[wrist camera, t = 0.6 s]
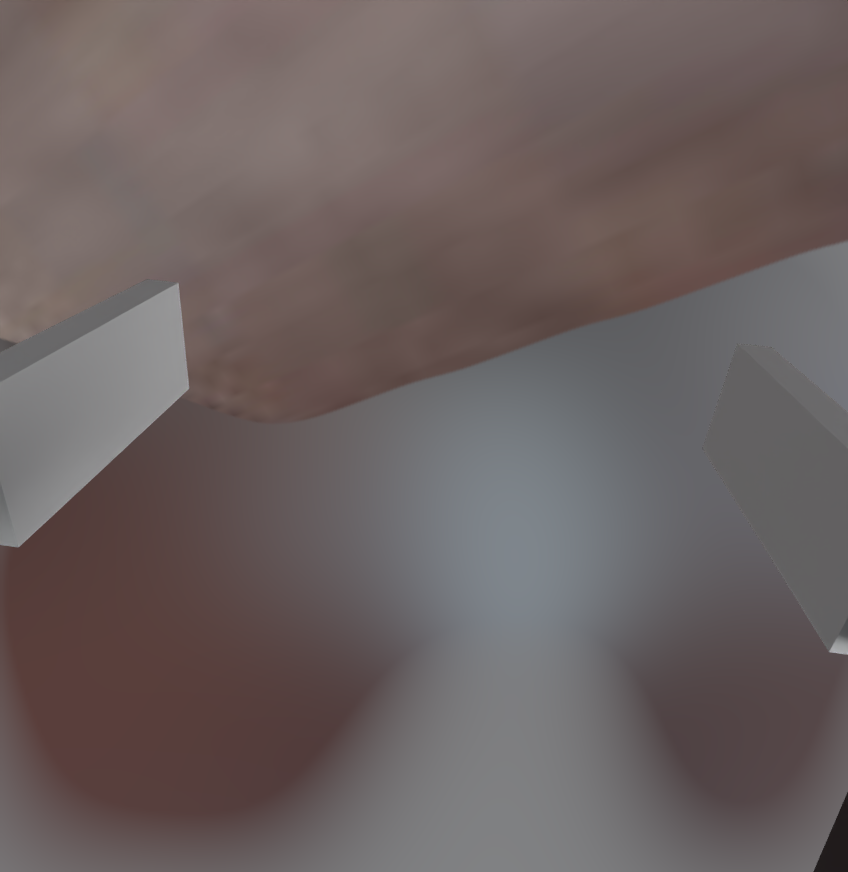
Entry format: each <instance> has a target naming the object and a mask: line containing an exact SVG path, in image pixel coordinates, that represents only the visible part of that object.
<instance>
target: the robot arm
mask: <svg viewBox="0 0 848 872" xmlns="http://www.w3.org/2000/svg"><path fill="white" fill-rule="evenodd" d="M188 389H189V383H188V373H187V363H186V353H185V344H184V334H183V324H182V314H181V304H180V295H179V285H178V283H176V282H167V281H158V280H149V279H147V280H145V281H143V282H141V283H139V284H137V285H135V286H133V287H131V288H129V289H127V290H125V291H123V292H121V293H119V294H117V295H115V296H112V297H110V298H108V299H106V300H104V301H102V302H100V303H98V304H96V305H94V306H92V307H90V308H88V309H86V310H84V311H82V312H80V313H78V314H76V315H74V316H72V317H70V318H68V319H66V320H64V321H62V322H60V323H58V324H56V325H54V326H52V327H50V328H48V329H46V330H44V331H42V332H40V333H38V334H36V335H34V336H32V337H30V338H28V339H26V340H24V341H22V342H20V343H18V344H16V345H14V346H12V347H10V348H8V349H6V350H4V351H2V352H0V545H5V546H13V547H19V546H21V544H23V543H24V542H25V541H26V540H27V539H28V538H29V537H30V536H31V535H32V534H33V533H34V532H36V531H37V530H38V529H39V528H40V527H41V526H42V525H43V524H44V523H45V522H46V521H47V520H48V519H50V518H51V517H52V516H53V515H54V514H55V513H56V512H57V511H58V510H59V509H60V508H61V507H62V506H63V505H64V504H66V503H67V502H68V501H69V500H70V499H71V498H72V497H73V496H74V495H75V494H76V493H77V492H78V491H80V490H81V489H82V488H83V487H84V486H85V485H86V484H87V483H88V482H89V481H90V480H91V479H93V478H94V477H95V476H96V475H97V474H98V473H99V472H100V471H101V470H102V469H103V468H104V467H105V466H106V465H108V464H109V463H110V462H111V461H112V460H113V459H114V458H115V457H116V456H117V455H118V454H119V453H120V452H122V451H123V450H124V449H125V448H126V447H127V446H128V445H129V444H130V443H131V442H132V441H133V440H134V439H135V438H137V437H138V436H139V435H140V434H141V433H142V432H143V431H144V430H145V429H146V428H147V427H148V426H149V425H150V424H152V423H153V422H154V421H155V420H156V419H157V418H158V417H159V416H160V415H161V414H162V413H163V412H165V411H166V410H167V409H168V408H169V407H170V406H171V405H172V404H173V403H174V402H175V401H176V400H177V399H178V398H180V397H181V396H182V395H183V394H184V393H185V392H186V391H187V390H188ZM703 450H704V452H705V453H706V455H707V457H708V458H709V460H710V462H711V463H712V465H713V466H714V468H715V470H716V471H717V473H718V474H719V476H720V478H721V479H722V480H723V482H724V484H725V486H726V487H727V489H728V490H729V492H730V494H731V495H732V497H733V498H734V500H735V502H736V503H737V505H738V506H739V508H740V510H741V511H742V513H743V515H744V516H745V518H746V519H747V521H748V523H749V524H750V526H751V527H752V529H753V530H754V532H755V534H756V535H757V537H758V539H759V540H760V542H761V543H762V545H763V546H764V548H765V550H766V551H767V553H768V555H769V556H770V558H771V559H772V561H773V563H774V564H775V566H776V567H777V569H778V571H779V572H780V574H781V576H782V577H783V579H784V580H785V582H786V584H787V585H788V587H789V588H790V590H791V592H792V593H793V595H794V596H795V598H796V600H797V601H798V603H799V604H800V606H801V607H802V609H803V611H804V612H805V614H806V616H807V617H808V619H809V620H810V622H811V624H812V625H813V627H814V628H815V630H816V631H817V633H818V635H819V636H820V638H821V640H822V641H823V643H824V644H825V646H826V648H827V649H828V651H829V652H833V653H840V654H848V412H847V411H846V410H845V409H843V408H842V407H841V406H840V405H839V404H837V403H836V402H835V401H834V400H833V399H832V398H830V397H829V396H828V395H827V394H826V393H825V392H823V391H822V390H821V389H820V388H819V387H817V386H816V385H815V384H814V383H813V382H812V381H810V380H809V379H808V378H807V377H806V376H805V375H803V374H802V373H801V372H800V371H799V370H797V369H796V368H795V367H794V366H793V365H792V364H791V363H789V362H788V361H787V360H786V359H785V358H783V357H782V356H781V355H780V354H779V353H778V352H776V351H775V350H774V349H773V348H772V347H765V346H756V345H747V344H737V346H736V349H735V352H734V355H733V358H732V361H731V364H730V367H729V370H728V373H727V376H726V379H725V382H724V385H723V388H722V391H721V394H720V397H719V400H718V403H717V406H716V409H715V412H714V415H713V418H712V421H711V424H710V427H709V430H708V433H707V436H706V439H705V442H704V445H703ZM814 872H848V793H847V795H846V797H845V800H844V802H843V804H842V807H841V809H840V811H839V814H838V816H837V818H836V821H835V823H834V825H833V827H832V830H831V832H830V834H829V837H828V839H827V842H826V844H825V846H824V848H823V851H822V853H821V855H820V858H819V860H818V862H817V865H816V867H815V870H814Z"/></svg>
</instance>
